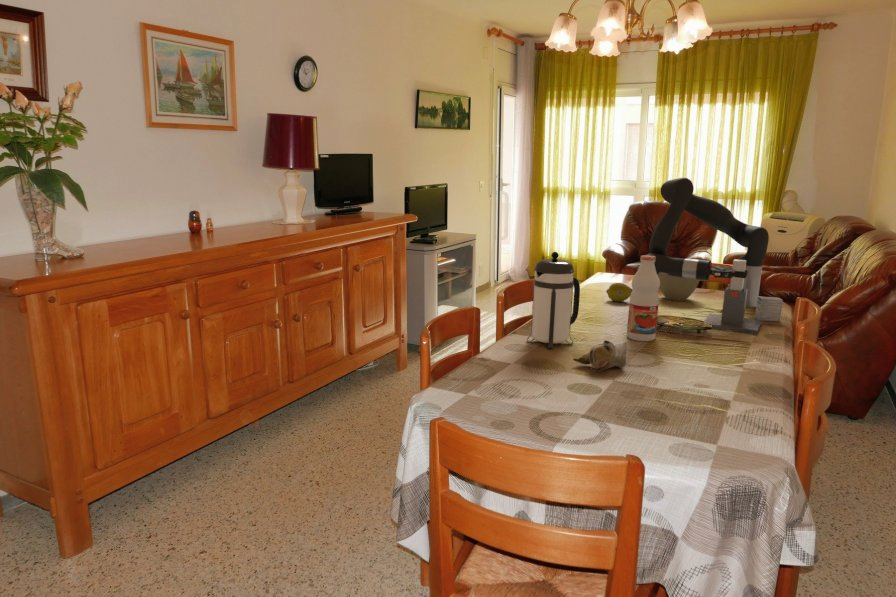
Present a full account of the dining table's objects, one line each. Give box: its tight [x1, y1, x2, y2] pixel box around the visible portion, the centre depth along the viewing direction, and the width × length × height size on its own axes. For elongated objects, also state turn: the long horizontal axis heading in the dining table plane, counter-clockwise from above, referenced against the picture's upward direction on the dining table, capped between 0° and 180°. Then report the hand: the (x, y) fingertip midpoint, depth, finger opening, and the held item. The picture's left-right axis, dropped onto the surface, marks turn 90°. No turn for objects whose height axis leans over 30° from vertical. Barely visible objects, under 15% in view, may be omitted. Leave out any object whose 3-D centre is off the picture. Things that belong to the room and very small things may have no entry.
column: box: [729, 258, 746, 292], centre depth 237 cm, size 4×4×22 cm
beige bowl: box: [657, 272, 700, 302], centre depth 282 cm, size 18×18×12 cm
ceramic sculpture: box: [572, 340, 628, 373], centre depth 187 cm, size 11×9×15 cm
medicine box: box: [754, 296, 784, 322], centre depth 248 cm, size 8×4×9 cm, turn 84°
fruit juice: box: [626, 254, 660, 342], centre depth 217 cm, size 9×9×28 cm
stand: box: [703, 286, 762, 335], centre depth 238 cm, size 18×18×14 cm
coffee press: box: [526, 251, 581, 350], centre depth 209 cm, size 17×16×30 cm
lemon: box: [605, 282, 632, 303], centre depth 274 cm, size 11×8×8 cm
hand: (746, 274), depth 234 cm, fingers closed on column, 4 cm apart
